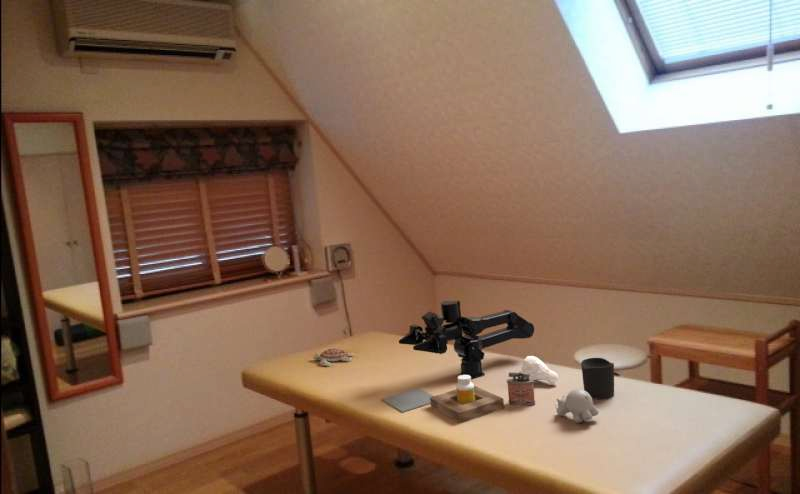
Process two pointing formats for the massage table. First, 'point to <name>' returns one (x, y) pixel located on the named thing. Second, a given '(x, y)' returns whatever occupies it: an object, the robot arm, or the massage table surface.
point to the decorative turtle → (332, 356)
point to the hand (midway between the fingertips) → (406, 345)
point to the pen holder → (598, 377)
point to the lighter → (520, 389)
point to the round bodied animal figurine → (577, 405)
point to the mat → (409, 400)
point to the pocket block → (467, 405)
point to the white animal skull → (538, 370)
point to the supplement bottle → (465, 390)
